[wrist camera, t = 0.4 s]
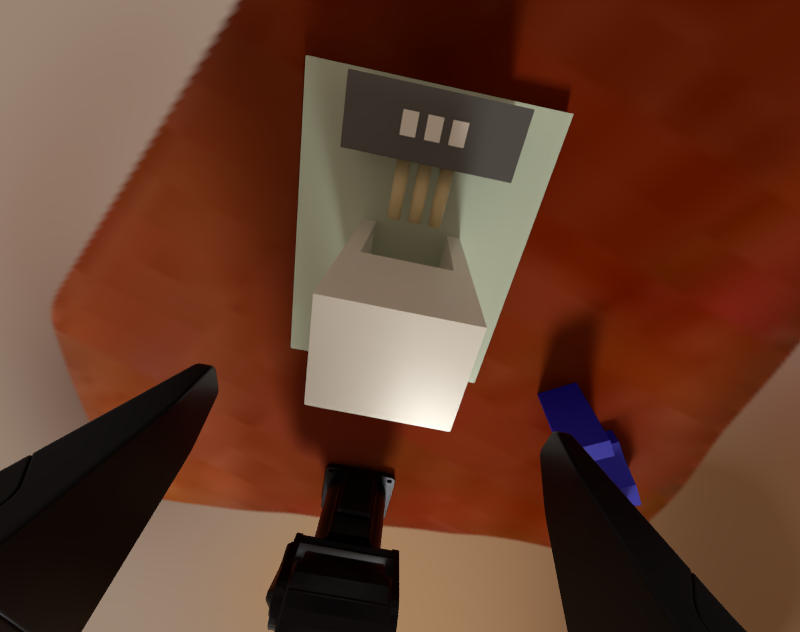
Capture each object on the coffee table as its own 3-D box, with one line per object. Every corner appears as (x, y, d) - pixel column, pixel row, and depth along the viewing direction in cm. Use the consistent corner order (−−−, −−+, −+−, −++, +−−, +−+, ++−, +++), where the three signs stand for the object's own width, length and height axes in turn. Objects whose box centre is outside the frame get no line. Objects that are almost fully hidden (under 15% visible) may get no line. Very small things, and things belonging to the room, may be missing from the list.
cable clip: (623, 473, 32) (662, 541, 27) (572, 485, 33) (600, 552, 28) (594, 374, 27) (635, 433, 22) (536, 392, 29) (561, 452, 23)
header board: (472, 375, 28) (482, 422, 23) (294, 340, 27) (269, 382, 23) (566, 114, 19) (609, 111, 15) (311, 58, 19) (275, 37, 14)
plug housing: (440, 309, 24) (449, 431, 15) (353, 292, 24) (304, 404, 14) (459, 238, 22) (486, 328, 12) (363, 218, 22) (312, 293, 12)
